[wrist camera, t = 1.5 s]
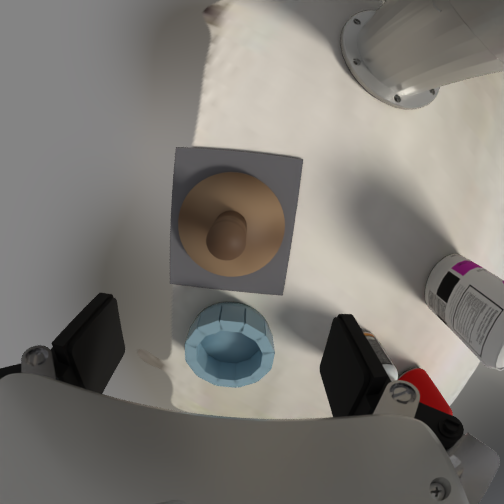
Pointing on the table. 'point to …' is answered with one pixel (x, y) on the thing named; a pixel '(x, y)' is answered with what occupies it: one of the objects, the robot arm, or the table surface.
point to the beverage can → (426, 389)
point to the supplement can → (470, 306)
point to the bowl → (230, 345)
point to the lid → (231, 224)
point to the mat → (254, 164)
